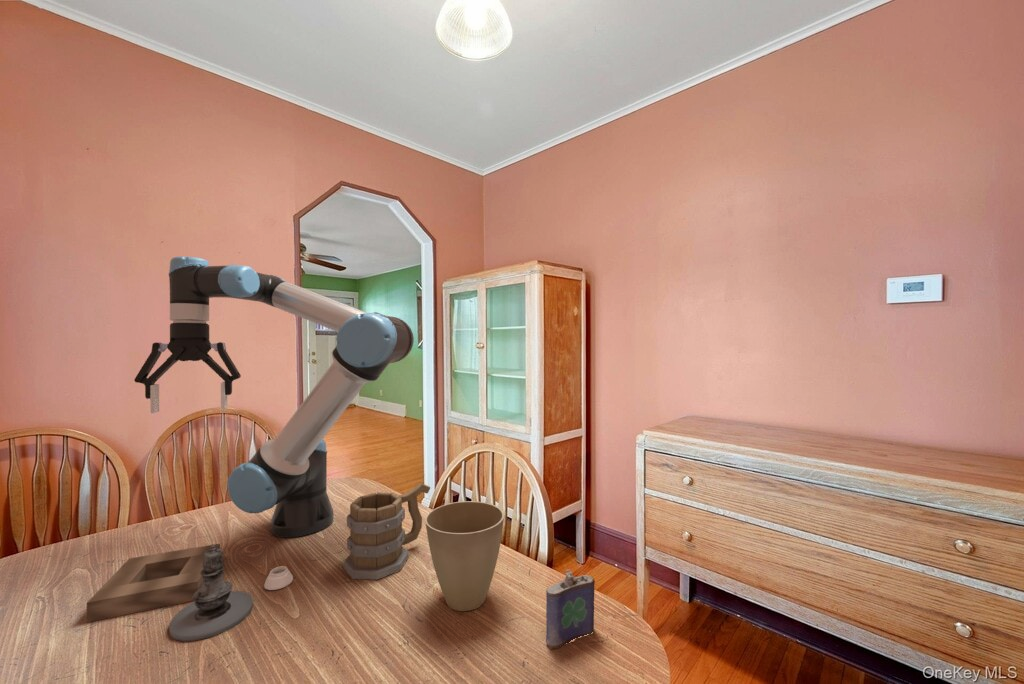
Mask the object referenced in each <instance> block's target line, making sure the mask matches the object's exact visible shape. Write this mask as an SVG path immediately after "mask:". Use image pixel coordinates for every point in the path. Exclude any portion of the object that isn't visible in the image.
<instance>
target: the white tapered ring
mask: <svg viewBox="0 0 1024 684" xmlns="http://www.w3.org/2000/svg"><path fill="white" fill-rule="evenodd" d="M293 579H294V576H293V574H292V573H291V572H290V570H289V569H288V567H287V566H285V565H281V566H277V567H274V568H272V569H271V570H270V571H269V574H268V576H267V577H266V579H265V582H264V584H263V587H264V589H265V590H268V591H276V590H280V589H283V588H286V587H287V586H289V585H290V584H291V583H292V582H293Z"/></svg>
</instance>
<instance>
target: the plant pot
mask: <svg viewBox="0 0 1024 684" xmlns="http://www.w3.org/2000/svg"><path fill="white" fill-rule="evenodd" d="M504 519H505V512H504V511H503V509H502V508H500V507H499V506H498V505H495V504H492V503H488V502H484V501H474V500H473V501H472V500H471V501H469V500H467V501H456V502H450V503H446V504H442V505H440V506H438V507H435V508H434V509H432V510H431V511H429V512H428V514H426V516H425V518H424V520H425V521H424V522H425V529H426V535H427V541H428V546H429V551H430V556H431V560H432V564H433V568H434V571H435V575H436V577H437V581H438V584H439V588H440V590H441V592H442V595H443V598H444V600H445V602H446V604H447V606H448V607H450V609H452V610H455V611H458V612H469V611H474V610H476V609H478V608H480V607H481V606H482V605H483V604H484V603H485V600H486V598H487V595H488V592H489V590H490V587H491V584H492V581H493V577H494V573H495V569H496V567H497V562H498V558H499V554H500V553H499V552H500V547H501V543H502V542H501V541H502V536H503V527H504V521H505V520H504ZM473 609H474V610H473Z"/></svg>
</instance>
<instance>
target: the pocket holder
mask: <svg viewBox="0 0 1024 684" xmlns="http://www.w3.org/2000/svg"><path fill="white" fill-rule="evenodd" d="M211 545H212V544H209V545H204V546H202V545H201V546H197V547H192V548H191V547H190V548H185V549H179V550H173V551H166V552H161V553H155V554H154V553H153V554H148V555H143V556H136V557H135V556H134V557H129V558H128V559H127V560H126V561H125V562H124V563H123V564H122V566H120V568H119V569H118V570H116V572H115V573H114V574H113V575H112V576H110V578H109V579H108V580H107V581H106V582H105V583H104V584H103V585H102V587H101V588H100V589H99V590H97V591H96V593H95V594H94V595H93V596H92V597H90V599H88V600H87V602H86V623H91V622H96V621H97V622H98V621H102V620H107V619H111V618H117V617H121V615H122V616H126V615H130V613H131V614H135V613H140V612H145V611H149V610H155V609H159V608H163V607H164V608H165V607H169V606H175V605H179V604H183V603H189V602H194V601H193V600H192V597H193V595H194V593H195V592H196V591H198V590H199V589H201V588H202V584H203V582H202V575H200V573H201V571H202V570H203V555H204V553H205V552H206V551H208V550H210V549H211ZM213 545H214V546H215V547H214V548H219V549H221V543H215V544H213ZM125 614H126V615H125Z"/></svg>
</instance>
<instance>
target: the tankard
mask: <svg viewBox="0 0 1024 684" xmlns="http://www.w3.org/2000/svg"><path fill="white" fill-rule="evenodd" d="M430 490H431V487H430V486H429V485H427V484H424V483H421V482H419V483H418V484H416V486H414V487H413V488H411V490H409V491H408V492H406V493H403V494H399V495H397V494H396V493H394V492H374V493H369V494H364V495H361V496H358V497H357V498H356V499H354V501H352V503H351V502H350V505H349V506H350V507H349V508H350V509H349V513H348V515H346V526H347V528H348V529H349V531H350V532H349V533H350V534H349V536H348V538H346V549H347V550H348V551H349V552H350V553H349V555H348V556H347V558H345V559H344V561H343V563H342V565H343V567H342V568H343V569H344V570H345V572H346V574H348V575H349V577H350V578H351V579H353V580H366V579H369V581H377V580H380V579H383V578H385V577H388V576H391V575H393V574H395V572H396V573H398V572H400V571H401V570H402V569H403V567H404V565H405V564H406V562H407V560H408V559H407V558H409V550H407V549H406V548H405V547H404V546H405V545H408V544H410V543H411V542H412V543H413V541H415V540H417V539H418V537H419V536H420V535H419V534H420V532H421V530H422V528H423V515H422V514H421V512H420V509H419V502H418V497H419V496H420V494H421V493H422V492H423V493H425V494H429V491H430ZM406 502H407V507H408V508H407V509H408V513H409V515H410V517H411V520H412V523H411V524H412V526H411V529H410V531H409V532H407V533H406V530H405V529H404V528H403V521H404V520H405V519H406V508H404V507H403V504H404V503H406ZM405 561H406V562H405ZM404 563H405V564H404ZM401 568H402V569H401ZM399 570H400V571H399ZM397 571H398V572H397ZM392 573H393V574H392ZM390 574H391V575H390ZM387 575H388V576H387ZM382 577H383V578H382Z"/></svg>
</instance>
